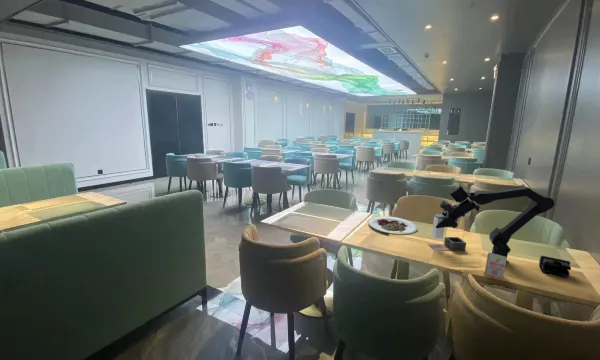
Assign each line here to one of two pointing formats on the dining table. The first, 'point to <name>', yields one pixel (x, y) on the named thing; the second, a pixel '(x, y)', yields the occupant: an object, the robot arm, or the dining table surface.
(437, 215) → the plug
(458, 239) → the socket deck
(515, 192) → the robot arm
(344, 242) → the dining table surface
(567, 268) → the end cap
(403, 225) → the plated food
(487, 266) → the tea bag
